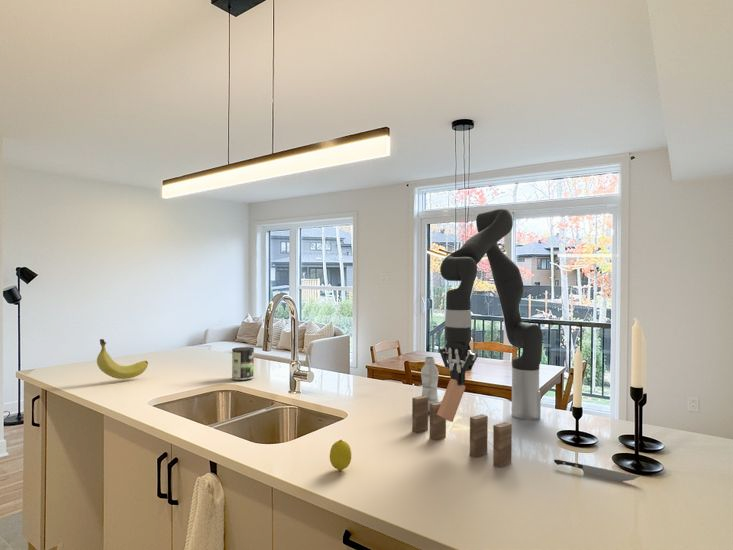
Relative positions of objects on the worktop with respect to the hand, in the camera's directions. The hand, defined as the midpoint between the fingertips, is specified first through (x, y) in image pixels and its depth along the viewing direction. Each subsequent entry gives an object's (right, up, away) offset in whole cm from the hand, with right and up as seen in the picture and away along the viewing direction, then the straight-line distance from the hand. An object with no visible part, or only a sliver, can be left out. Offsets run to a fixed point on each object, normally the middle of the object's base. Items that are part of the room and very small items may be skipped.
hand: (457, 384), depth 131 cm
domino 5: (+9, -19, -13) cm, 24 cm away
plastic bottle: (-3, -19, +34) cm, 39 cm away
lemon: (-33, -18, -17) cm, 42 cm away
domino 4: (+5, -19, -7) cm, 20 cm away
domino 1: (-9, -18, +13) cm, 24 cm away
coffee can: (-87, -18, +87) cm, 125 cm away
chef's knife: (+30, -19, -20) cm, 41 cm away
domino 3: (-4, -9, -3) cm, 11 cm away
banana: (-143, -18, +82) cm, 166 cm away
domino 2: (-5, -18, +6) cm, 20 cm away
